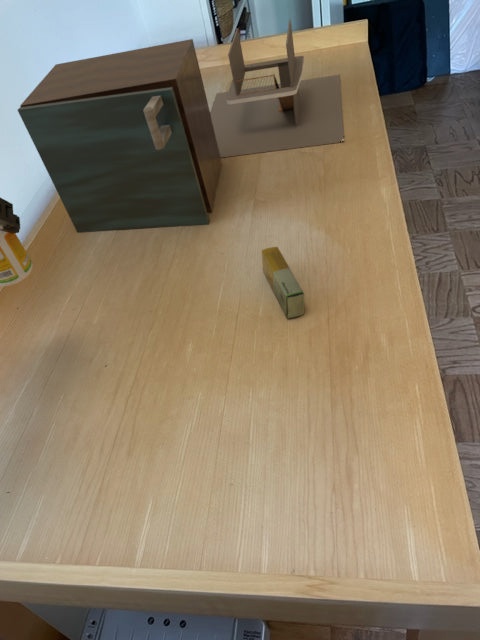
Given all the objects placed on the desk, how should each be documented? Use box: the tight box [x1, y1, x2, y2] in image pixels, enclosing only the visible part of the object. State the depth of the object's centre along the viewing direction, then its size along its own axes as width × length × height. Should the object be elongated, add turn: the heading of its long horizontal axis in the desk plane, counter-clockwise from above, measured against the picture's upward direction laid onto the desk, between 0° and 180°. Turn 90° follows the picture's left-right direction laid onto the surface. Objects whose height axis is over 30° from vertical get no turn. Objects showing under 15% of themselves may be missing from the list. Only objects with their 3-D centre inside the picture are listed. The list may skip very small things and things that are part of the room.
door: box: [17, 87, 210, 233], centre depth 89 cm, size 6×26×24 cm, turn 80°
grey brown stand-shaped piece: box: [210, 18, 345, 158], centre depth 117 cm, size 31×35×17 cm
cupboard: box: [19, 38, 223, 214], centre depth 99 cm, size 18×26×24 cm
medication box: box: [261, 246, 305, 320], centre depth 77 cm, size 12×3×4 cm, turn 16°
